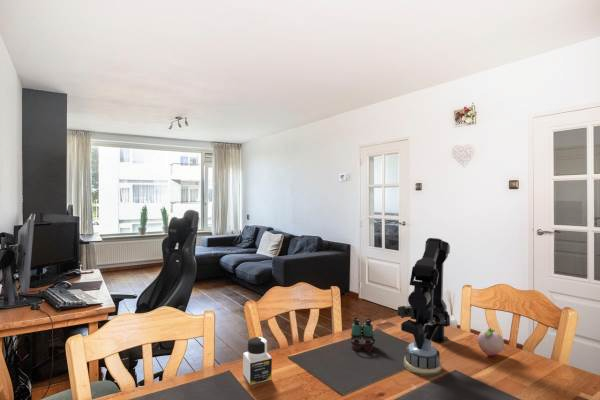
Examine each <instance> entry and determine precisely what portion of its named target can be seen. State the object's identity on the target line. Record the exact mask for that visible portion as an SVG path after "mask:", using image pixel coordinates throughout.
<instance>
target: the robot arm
mask: <svg viewBox="0 0 600 400" xmlns="http://www.w3.org/2000/svg"><path fill="white" fill-rule="evenodd" d="M424 245H425V246H424V252H423V254H422V257H421V258H420V259H418V260H416V261H415V263H414V265H413V266H412V270H411V274H410V281H409V286H413V288H414V289H413V290H412V291H411V292H410V294H409V295H408V298H407V301H408V304H409V305H406V306H405V305H402V306H397V312H396V314H397V315H398V316H399V317H400V318H401V319H404V318H410V319H408V320H405V321H403V322H402V323H400V331H403V332H404V333H407V334H411V335H412V336H413V337H414V338H415V341H416V345H417V348H418V349H420V350H421V348H422V346H423V343H424V341H425V339H427V340H430V341H433V342H437V343H443V342H444V341H446V340H448V336H445V328H447V327H450V326H451V320H450V318H451V317H450V316H451V315H450V314H449V311H447V310H448V309H447V308H448V307H447V304H446V302H445V301H444V299H443V292H444V287H443V286H444V263H445V262H446V260H447V258H448V257H449V255H450V251H451V249H450V248H451V246H450V244H449V242H447V241H444V240H442V238H437V237H429V238H427V239H426V240H425V244H424ZM414 338H413V339H414Z"/></svg>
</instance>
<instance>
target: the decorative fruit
mask: <svg viewBox="0 0 600 400" xmlns="http://www.w3.org/2000/svg"><path fill="white" fill-rule="evenodd" d="M477 344H478V346H479V349H480V350H481V351H482V352H483V353H485V354H486V355H487V356H495V355H498V354H499V353H501V352H502V351H503V349H504V347H505V342H504V339H503V337H502V336H501V334H499V333H498V332H496V331H495V330H494V329H492V328H491V327H489V328H487V329H485V330H482V331H480V333H479V334H478V340H477Z"/></svg>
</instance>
